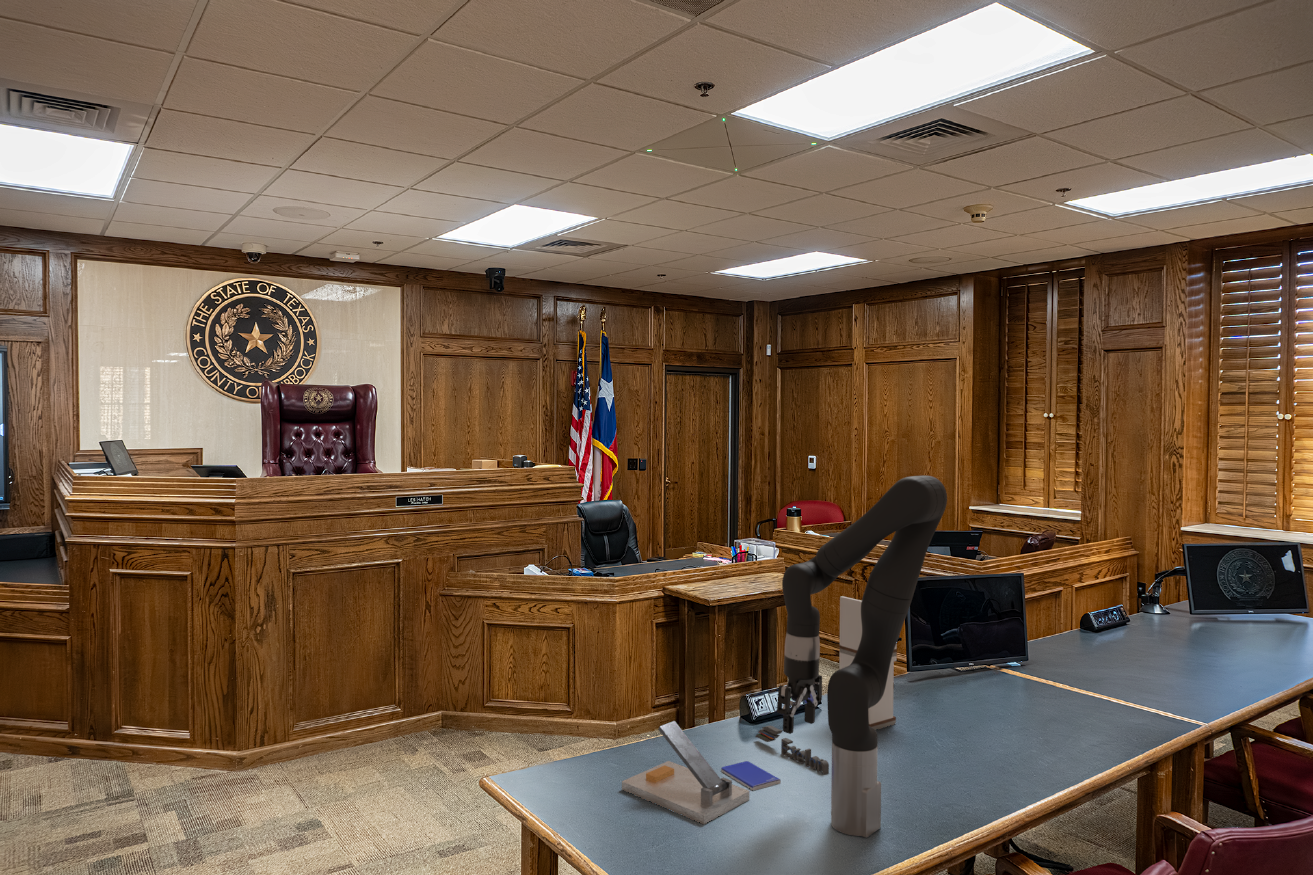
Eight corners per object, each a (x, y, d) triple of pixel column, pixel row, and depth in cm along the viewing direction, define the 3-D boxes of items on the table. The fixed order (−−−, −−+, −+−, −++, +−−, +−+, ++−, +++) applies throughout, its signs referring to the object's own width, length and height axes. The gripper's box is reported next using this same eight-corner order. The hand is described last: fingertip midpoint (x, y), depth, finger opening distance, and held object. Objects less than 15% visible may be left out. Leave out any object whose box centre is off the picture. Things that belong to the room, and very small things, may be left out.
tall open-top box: (895, 724, 232) (897, 599, 232) (869, 731, 226) (871, 603, 226) (864, 712, 242) (865, 592, 242) (838, 719, 236) (840, 596, 236)
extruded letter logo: (754, 741, 219) (755, 720, 219) (759, 740, 220) (759, 719, 220) (824, 775, 198) (824, 751, 198) (828, 773, 199) (829, 750, 199)
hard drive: (780, 778, 193) (748, 760, 204) (752, 785, 189) (721, 766, 200) (780, 785, 193) (748, 766, 204) (752, 792, 189) (721, 773, 200)
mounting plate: (749, 799, 184) (749, 777, 184) (703, 824, 172) (704, 800, 172) (668, 768, 200) (668, 748, 200) (621, 789, 189) (621, 768, 189)
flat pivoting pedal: (724, 791, 182) (728, 786, 181) (710, 798, 178) (713, 793, 178) (671, 724, 192) (675, 719, 192) (657, 730, 189) (660, 725, 188)
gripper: (798, 664, 173) (795, 741, 173) (834, 651, 183) (831, 723, 184) (768, 656, 178) (765, 731, 178) (804, 644, 188) (802, 714, 189)
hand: (798, 727), depth 181 cm, fingers open, 8 cm apart
